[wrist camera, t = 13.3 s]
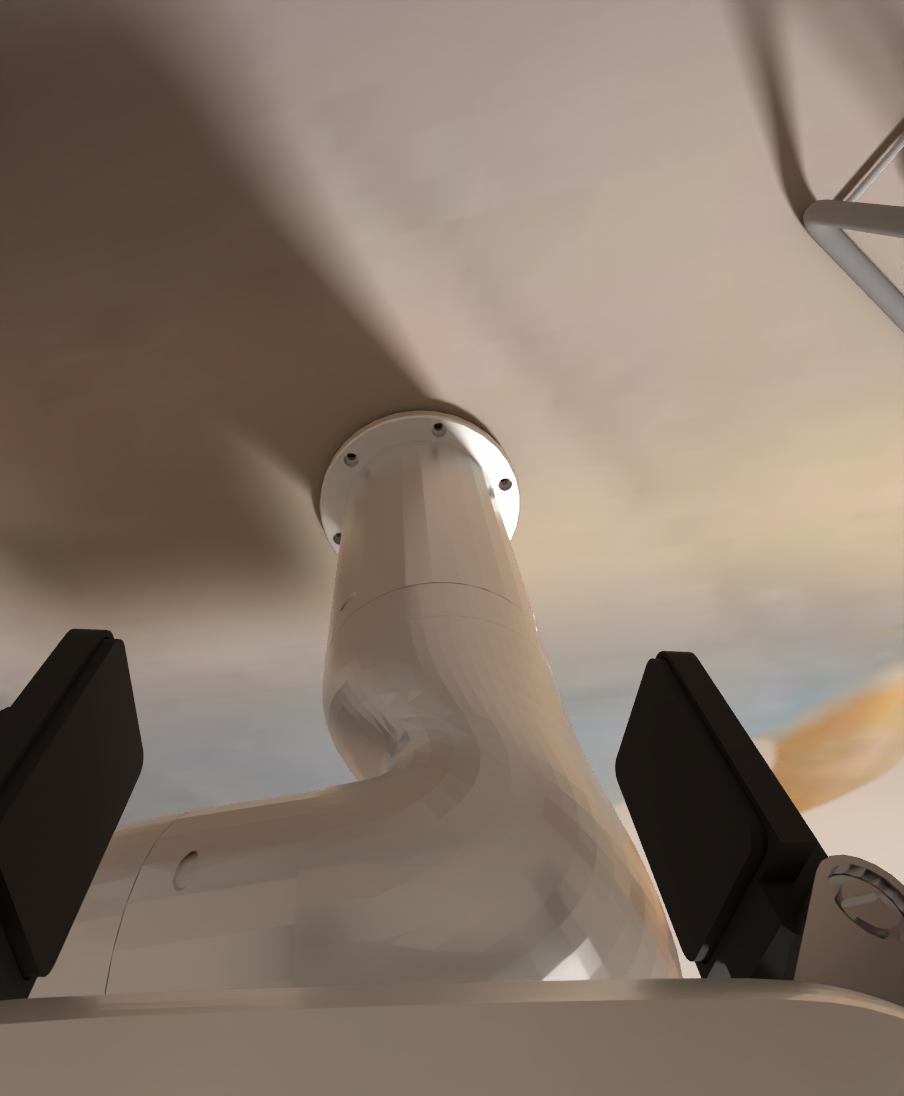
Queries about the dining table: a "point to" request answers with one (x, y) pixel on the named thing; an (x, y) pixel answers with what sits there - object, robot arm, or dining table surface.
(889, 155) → the newton's cradle
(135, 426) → the dining table surface
